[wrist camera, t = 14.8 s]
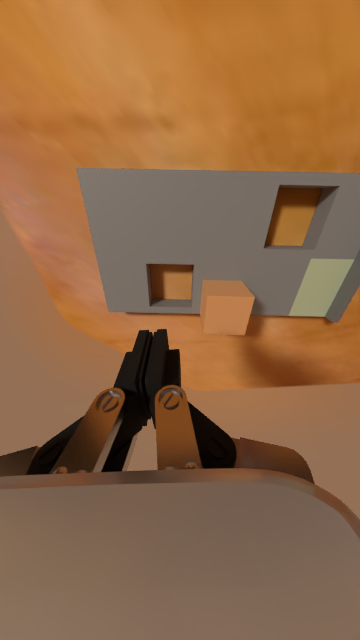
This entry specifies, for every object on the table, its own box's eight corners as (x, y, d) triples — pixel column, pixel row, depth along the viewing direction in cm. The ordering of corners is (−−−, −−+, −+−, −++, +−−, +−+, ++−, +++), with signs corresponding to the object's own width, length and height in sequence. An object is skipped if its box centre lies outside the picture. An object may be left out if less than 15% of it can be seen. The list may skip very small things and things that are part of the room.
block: (241, 280, 23) (254, 297, 19) (234, 314, 25) (244, 335, 21) (203, 279, 23) (207, 295, 19) (199, 313, 25) (203, 333, 21)
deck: (382, 178, 19) (425, 171, 16) (318, 308, 28) (338, 322, 24) (88, 172, 19) (67, 164, 16) (114, 304, 28) (104, 317, 24)
